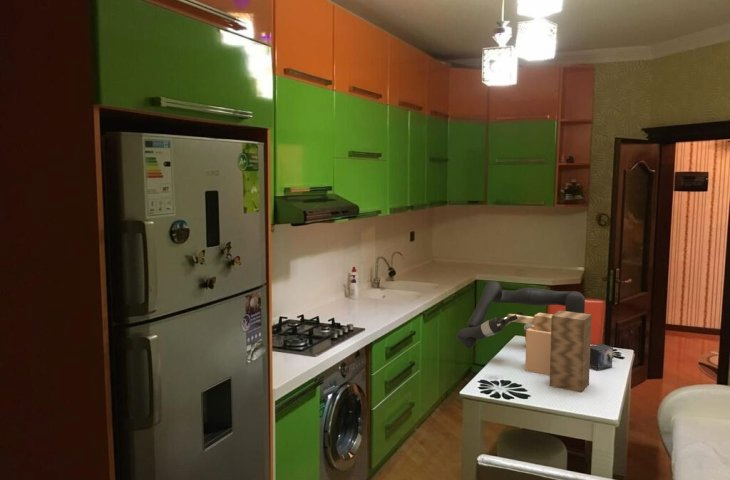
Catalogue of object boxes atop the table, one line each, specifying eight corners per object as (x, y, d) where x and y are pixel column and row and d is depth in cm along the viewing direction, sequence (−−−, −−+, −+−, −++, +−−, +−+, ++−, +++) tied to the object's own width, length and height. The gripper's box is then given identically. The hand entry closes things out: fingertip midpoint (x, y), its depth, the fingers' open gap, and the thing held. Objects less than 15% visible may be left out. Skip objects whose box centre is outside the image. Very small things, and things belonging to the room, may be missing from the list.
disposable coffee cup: (526, 343, 321) (527, 322, 320) (543, 346, 316) (544, 325, 314) (520, 348, 313) (520, 326, 312) (537, 351, 308) (538, 329, 307)
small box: (597, 371, 275) (598, 350, 274) (586, 367, 281) (587, 346, 280) (612, 368, 280) (613, 347, 279) (601, 364, 286) (602, 343, 285)
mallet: (505, 325, 283) (506, 311, 282) (510, 322, 289) (511, 308, 288) (552, 332, 270) (553, 318, 269) (557, 329, 276) (557, 315, 275)
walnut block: (549, 386, 256) (551, 315, 253) (557, 378, 266) (559, 310, 263) (581, 392, 249) (584, 320, 245) (588, 384, 258) (591, 314, 255)
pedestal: (525, 370, 277) (526, 330, 275) (533, 363, 287) (534, 324, 285) (554, 376, 269) (555, 334, 267) (561, 369, 279) (563, 328, 277)
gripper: (483, 323, 286) (511, 310, 277) (494, 317, 297) (521, 305, 289) (490, 337, 284) (518, 325, 276) (501, 330, 296) (528, 318, 287)
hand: (519, 314), depth 282 cm, fingers open, 8 cm apart
